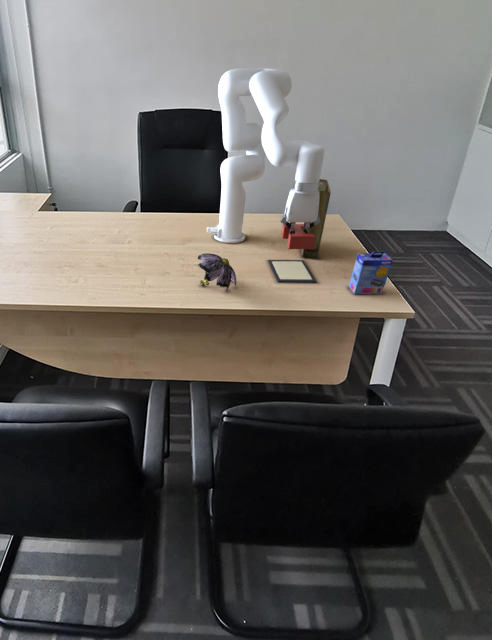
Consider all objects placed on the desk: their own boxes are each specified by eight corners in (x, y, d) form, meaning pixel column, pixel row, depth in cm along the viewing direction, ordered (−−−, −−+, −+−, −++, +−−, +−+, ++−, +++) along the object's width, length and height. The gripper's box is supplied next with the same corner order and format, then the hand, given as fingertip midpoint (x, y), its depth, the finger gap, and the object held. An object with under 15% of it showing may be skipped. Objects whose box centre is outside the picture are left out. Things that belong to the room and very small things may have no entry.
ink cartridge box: (354, 295, 158) (365, 253, 150) (347, 287, 163) (357, 246, 155) (383, 294, 159) (396, 252, 151) (376, 286, 163) (387, 245, 155)
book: (300, 242, 196) (311, 178, 182) (314, 243, 195) (327, 179, 181) (301, 258, 183) (314, 190, 169) (317, 259, 182) (331, 191, 168)
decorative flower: (238, 271, 150) (196, 248, 153) (221, 303, 155) (181, 281, 158) (249, 265, 162) (210, 245, 166) (233, 296, 167) (196, 275, 171)
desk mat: (277, 282, 165) (278, 281, 165) (268, 260, 180) (268, 259, 180) (316, 282, 166) (316, 281, 165) (303, 261, 180) (303, 259, 180)
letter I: (288, 249, 162) (290, 236, 159) (281, 236, 172) (282, 223, 169) (312, 249, 162) (315, 236, 159) (303, 236, 172) (306, 224, 169)
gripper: (328, 183, 160) (317, 237, 170) (278, 183, 160) (270, 237, 170) (334, 189, 153) (323, 245, 164) (282, 189, 153) (274, 245, 163)
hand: (296, 240), depth 167 cm, fingers closed on letter I, 3 cm apart
